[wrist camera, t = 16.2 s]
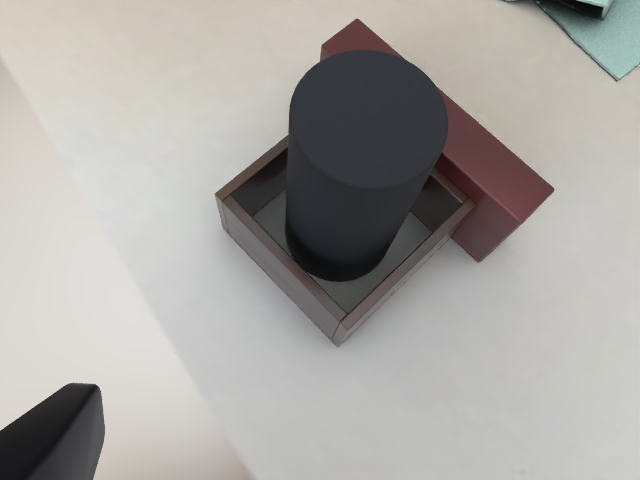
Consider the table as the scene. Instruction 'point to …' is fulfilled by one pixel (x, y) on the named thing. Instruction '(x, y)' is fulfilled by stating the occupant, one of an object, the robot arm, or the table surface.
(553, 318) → the table surface
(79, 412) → the robot arm
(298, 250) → the dark grey cylinder
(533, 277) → the table surface
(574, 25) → the cloth
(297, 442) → the table surface
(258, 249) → the brown square frame
